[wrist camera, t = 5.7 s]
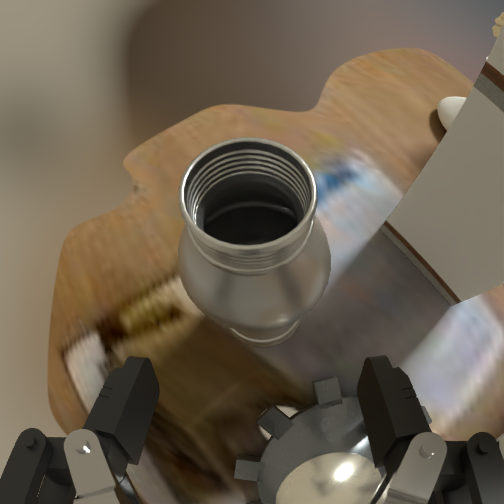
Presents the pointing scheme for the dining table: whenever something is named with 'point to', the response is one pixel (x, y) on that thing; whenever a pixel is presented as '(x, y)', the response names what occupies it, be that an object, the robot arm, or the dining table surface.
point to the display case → (461, 196)
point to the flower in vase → (452, 105)
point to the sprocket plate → (315, 453)
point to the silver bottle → (252, 239)
